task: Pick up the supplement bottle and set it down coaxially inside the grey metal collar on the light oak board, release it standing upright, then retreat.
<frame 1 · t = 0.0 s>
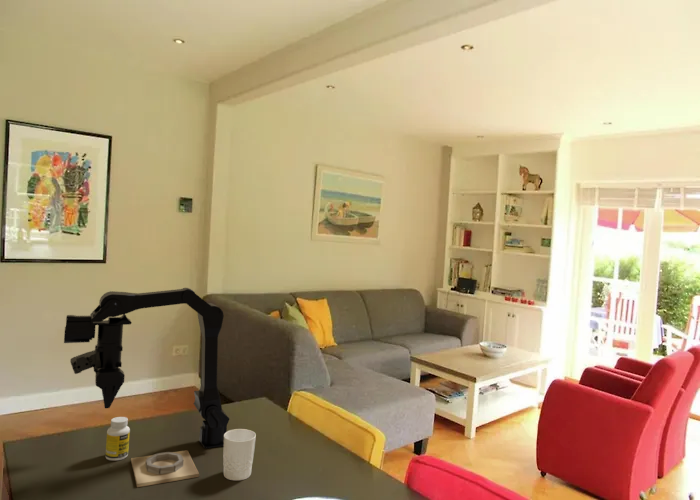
hand: (106, 402, 126), 15 cm above the table, fingers open, 9 cm apart
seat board: (164, 468, 124), on the table
white cup: (237, 475, 124), on the table
supplement bottle: (116, 457, 128), on the table
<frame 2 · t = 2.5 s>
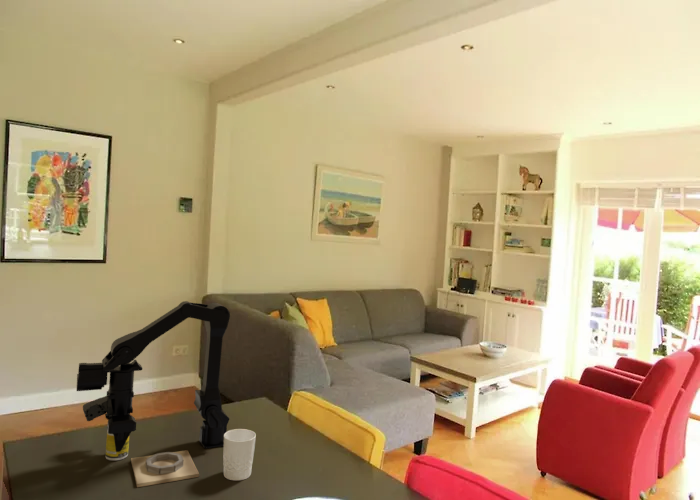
hand: (117, 446, 128), 3 cm above the table, fingers closed on supplement bottle, 5 cm apart
supplement bottle: (116, 457, 128), on the table, touching gripper
everything else where it was.
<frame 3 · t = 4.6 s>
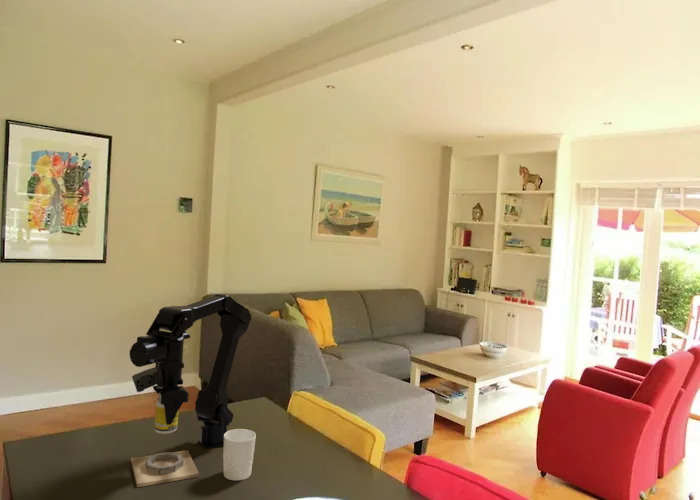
hand: (166, 420, 124), 12 cm above the table, fingers closed on supplement bottle, 5 cm apart
supplement bottle: (165, 430, 124), point 10 cm above the table, touching gripper
everything else where it was.
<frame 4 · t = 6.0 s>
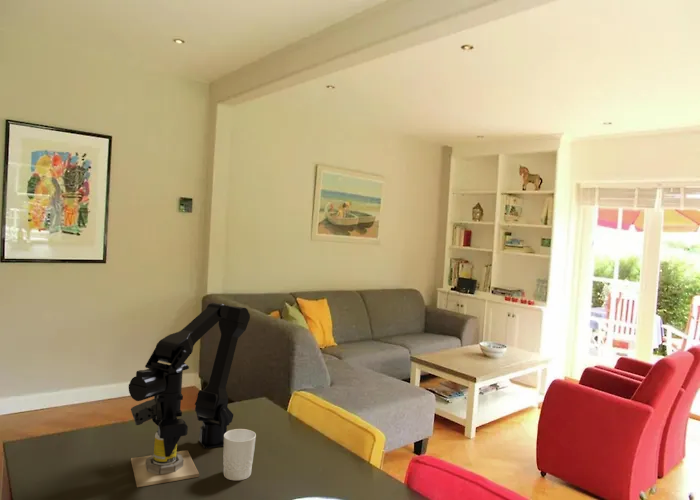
hand: (165, 451, 124), 4 cm above the table, fingers closed on supplement bottle, 5 cm apart
supplement bottle: (164, 462, 124), point 2 cm above the table, touching gripper
everything else where it was.
when the fingers open (4 cm above the table, at t = 6.9 s): supplement bottle stays where it is, resting on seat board.
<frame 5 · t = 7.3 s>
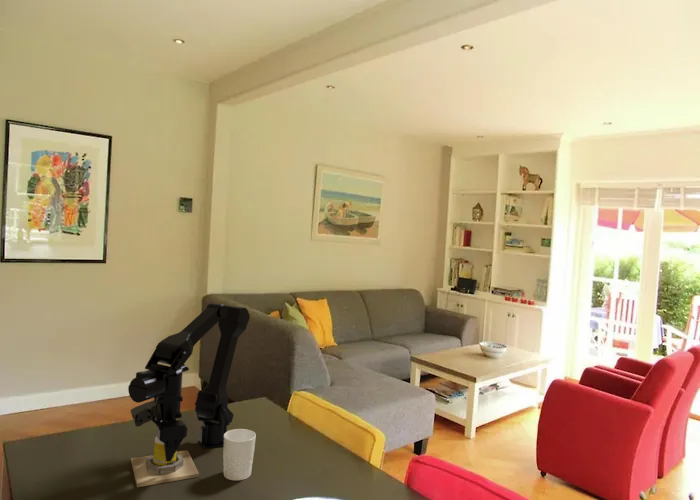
hand: (165, 453, 124), 4 cm above the table, fingers open, 9 cm apart
supplement bottle: (164, 466, 124), point 1 cm above the table, touching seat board
everything else where it was.
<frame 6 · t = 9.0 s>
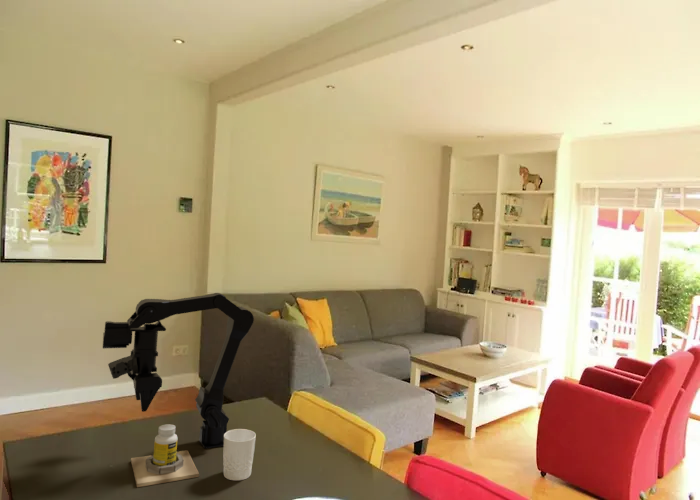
hand: (141, 405, 131), 13 cm above the table, fingers open, 9 cm apart
nothing on the table moved.
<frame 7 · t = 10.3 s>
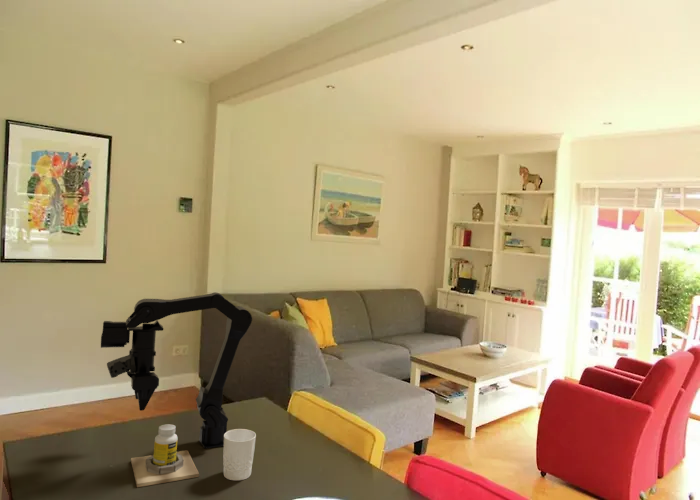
hand: (139, 404, 132), 12 cm above the table, fingers open, 9 cm apart
nothing on the table moved.
at the end: supplement bottle 0.1 cm from the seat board (horizontally); supplement bottle point 0.6 cm above the table; supplement bottle tilted 0° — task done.
